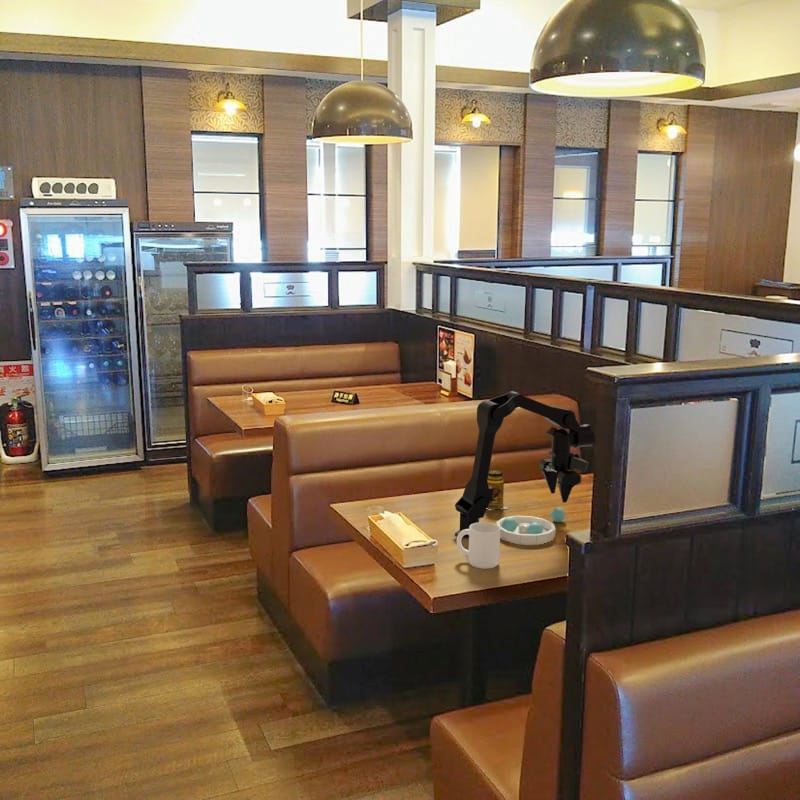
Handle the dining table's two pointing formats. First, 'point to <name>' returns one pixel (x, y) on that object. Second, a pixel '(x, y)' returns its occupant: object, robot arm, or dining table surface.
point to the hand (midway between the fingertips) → (558, 497)
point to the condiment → (496, 489)
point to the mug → (481, 544)
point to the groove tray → (528, 537)
